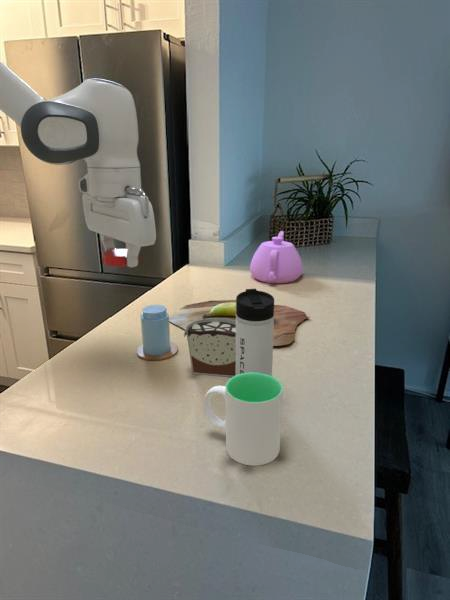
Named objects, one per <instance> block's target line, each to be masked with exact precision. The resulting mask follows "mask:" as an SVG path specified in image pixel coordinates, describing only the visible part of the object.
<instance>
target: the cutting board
mask: <svg viewBox="0 0 450 600" xmlns="http://www.w3.org/2000/svg"><path fill="white" fill-rule="evenodd" d="M236 310H237V309H236V299H223V300H222V299H221V300H206V301H201V302H196V303H191V304H186V305H184V306H183V307H181V308H179V309H178V310H177V311H175V312H174V313H173V314H172V315H171V316H169V323H172V324H174V325H175V326H177V327H179V328H181V329H184V331H185V330H186V327H187V326H188V325H189V324H190V323H192V322H194V321H197V320H201V319H206V318H225V319H231V320H234V321H236ZM307 319H311V317H310V316H308V315H307V314H306V312H305V311H303V310H300V309H296V308H294V307H291V306H288V305H280V304H274V332H273V347H281V346H287V345H290V344H291V343H293V341H295V335H296V334H295V333H296V329H297V327H298V325H299V324H301V323H302V322H304V321H305V320H307Z"/></svg>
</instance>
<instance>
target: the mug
mask: <svg viewBox="0 0 450 600" xmlns="http://www.w3.org/2000/svg"><path fill="white" fill-rule="evenodd" d="M213 394H218V395H220V396H221V397H222V398H223V399H224V403H225V419H224V420H223V419H221V418H219V416H217V415H216V414H215V412H214V410H213V408H212V404H211V398H212V395H213ZM282 405H283V385H282V383H281V381H280V380H279V379H278V378H276V377H274V376H273V375H272V376H270V375H267V374H263V373H255V372H250V373H242V374H238V375H236V376H234V377H229V379H228V380H227V381H226V383H225V385H215V386H213V387H211V388H210V389H208V390H207V392H206V393H205V396H204V399H203V410H204V413H205V416H206V419H208V421H209V422H210V423H211V424H212V425H213V426H215V427H216V428H218V429H220V430H223V431H224V433H225V451H226V453H227V454H228V456H229V457H230V458H231V459H232V460H234V461H235V462H236V463H239V464H242V465H246V466H253V467H256V466H257V467H258V466H264V465H267V464H270V463H272V462H273V461H274V460H276V458H277V457H278V456H279V454H280V450H281V429H282Z"/></svg>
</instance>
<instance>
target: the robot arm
mask: <svg viewBox="0 0 450 600" xmlns="http://www.w3.org/2000/svg"><path fill="white" fill-rule="evenodd" d="M0 111H1V112H2V113H4V115H6V117H8V118H10V119H11V120H12V121H13V122H14V123H16V125H17V126H18V127H19V128H20V135H21V139H22V140H23V143H24V146H25V147H26V148H27V150H28V152H30V153H31V154H32V155H33V156H34V157H35V158H37V160H40V161H42V162H43V163H46V164H49V165H52V166H63V165H64V166H65V165H70V164H73V163H76V162H77V161H80V160H82V161H83V160H84V161H85V163H86V167H87V168H86V169H87V173H86V174H85V175H84V176H83V177H81V178H80V179H79V180H78V189H79V190H78V191H79V192H80V193H82V197H81V199H82V209H83V215H84V220H85V224H86V227H87V229H88V230H89V231H90V232H94V233H97V234H100V235H99V236H100V241H101V242H102V246H103V248H104V252H105V251H107V250H112V249H117V248H116V245H115V241H114V240H117V241H119V242H122V243H125V249H128V251H127V256H125V257H124V258H125V265H126V266H125V267H128V268H135V267H137V266H138V265H139V262H138V259H137V257H138V255H140V251H141V249H142V247H147V246H148V247H149V246H153V245H155V243H156V240H157V229H156V221H155V213H154V208H153V205H152V202H151V201H150V200H149V197H148V196H147V194H146V193H145V191H144V189H143V188H142V175H141V174H142V173H141V163H140V160H139V157H138V146H139V140H140V139H139V138H140V137H139V124H138V113H137V109H136V103H135V99H134V96H133V94H132V92H131V91H130V90H129V89H128V88H127V87H125V86H124V85H123V84H120V83H118V82H115V81H111V80H107V79H104V78H94V77H93V78H92V77H90V78H86V79H84V80H83V82H81V83H80V84H79V85H78V86H76V87H74V88H72V89H71V90H69V91H67V92H64V93H63V94H60V95H58V96H55V97H52V98H48V99H46V98H44V97H43V96H41V95H40V94H39V93H37V92H36V91H35V90H34V89H33V88H32V87H30V85H28V84H27V83H26V82H25V81H24V80H23V79H22V78H21V77H19V76H18V75H17V74H16V73H15V72H14V71H12V69H11V68H9V67H8V66H7V65H6V64H5V63H4V62H2V61H1V60H0Z"/></svg>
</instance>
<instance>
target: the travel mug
mask: <svg viewBox="0 0 450 600" xmlns="http://www.w3.org/2000/svg"><path fill="white" fill-rule="evenodd" d="M235 300H236V309H237V310H236V375H238V374H242V373H250V372H255V373H263V374H267V375H270V376H272V377H273V361H274V360H273V357H274V346H273V332H274V305H275V298H274V296H273V295H272V294H270V293H268V292H266V291H264V290H263V291H262V290H258V289H257V288H246V289H245V291H242V292H239V293H238V294H237V295H236V298H235Z"/></svg>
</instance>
